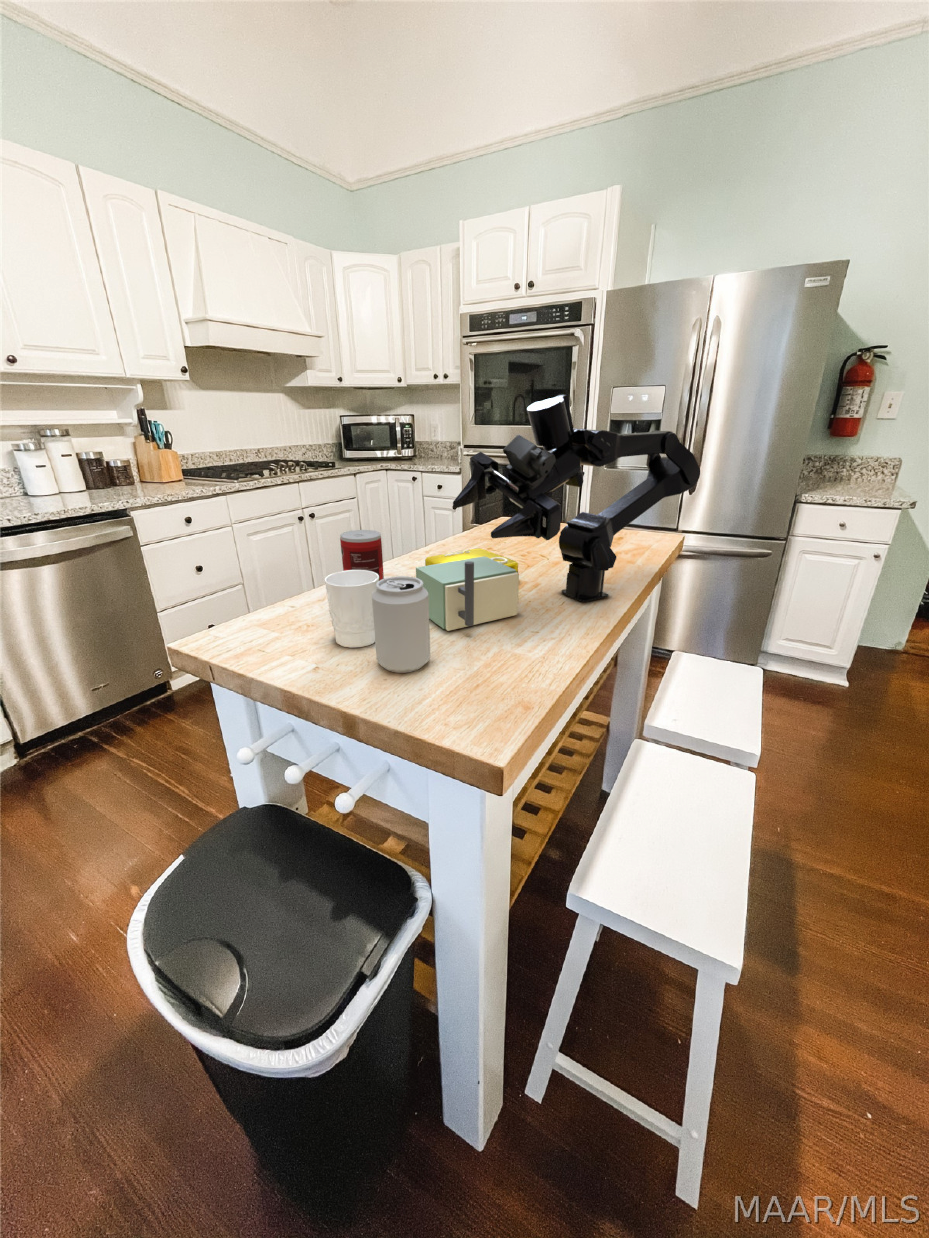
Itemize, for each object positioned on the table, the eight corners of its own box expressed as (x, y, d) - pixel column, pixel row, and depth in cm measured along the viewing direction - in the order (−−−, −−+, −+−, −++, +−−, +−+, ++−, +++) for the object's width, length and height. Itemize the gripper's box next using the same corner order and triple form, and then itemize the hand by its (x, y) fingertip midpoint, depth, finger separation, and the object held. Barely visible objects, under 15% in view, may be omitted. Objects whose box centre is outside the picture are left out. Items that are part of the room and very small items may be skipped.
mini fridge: (484, 596, 95) (484, 556, 92) (514, 614, 87) (516, 570, 84) (417, 610, 89) (415, 567, 85) (443, 630, 81) (442, 583, 77)
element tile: (479, 565, 114) (479, 545, 112) (521, 583, 102) (522, 560, 100) (422, 577, 106) (421, 555, 104) (460, 597, 95) (460, 573, 93)
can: (422, 678, 66) (418, 593, 62) (368, 672, 68) (361, 589, 63) (436, 653, 73) (434, 575, 68) (387, 648, 74) (382, 571, 70)
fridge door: (514, 613, 87) (517, 547, 82) (529, 621, 83) (533, 553, 79) (445, 629, 80) (444, 558, 76) (458, 639, 77) (458, 566, 72)
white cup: (392, 632, 80) (388, 572, 76) (367, 653, 73) (362, 588, 69) (349, 625, 82) (343, 567, 78) (321, 645, 75) (313, 582, 72)
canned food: (365, 580, 104) (360, 527, 100) (393, 587, 100) (389, 533, 96) (336, 590, 99) (330, 535, 94) (364, 598, 94) (360, 541, 90)
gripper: (507, 405, 79) (428, 448, 74) (595, 456, 70) (512, 509, 65) (508, 464, 88) (438, 506, 83) (587, 516, 79) (513, 567, 74)
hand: (471, 520), depth 76 cm, fingers open, 9 cm apart
